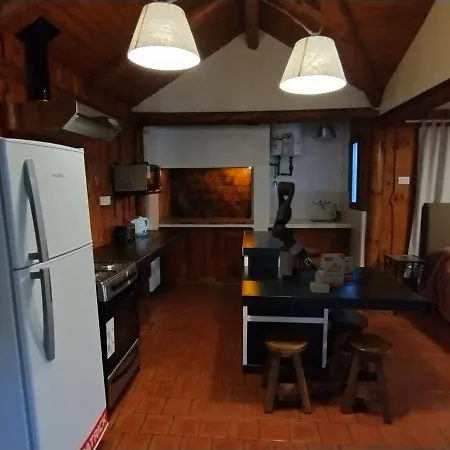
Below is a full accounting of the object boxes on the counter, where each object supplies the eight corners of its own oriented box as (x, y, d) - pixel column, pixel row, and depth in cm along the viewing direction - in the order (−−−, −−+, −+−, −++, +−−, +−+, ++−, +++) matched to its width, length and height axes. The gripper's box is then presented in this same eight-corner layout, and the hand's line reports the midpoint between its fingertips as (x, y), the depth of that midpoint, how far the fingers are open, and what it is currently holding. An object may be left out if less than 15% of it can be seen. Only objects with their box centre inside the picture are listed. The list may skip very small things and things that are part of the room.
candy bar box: (348, 279, 267) (349, 256, 265) (353, 281, 262) (354, 257, 261) (334, 281, 263) (335, 257, 261) (339, 282, 258) (340, 258, 257)
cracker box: (323, 287, 246) (324, 255, 244) (319, 285, 252) (320, 253, 250) (343, 286, 249) (345, 254, 247) (339, 284, 255) (340, 252, 253)
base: (309, 287, 244) (310, 281, 244) (325, 288, 244) (326, 282, 243) (312, 292, 235) (312, 285, 234) (329, 292, 234) (329, 286, 233)
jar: (314, 282, 242) (315, 267, 240) (322, 283, 241) (323, 267, 240) (315, 284, 236) (316, 268, 235) (324, 285, 236) (325, 269, 235)
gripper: (303, 248, 230) (322, 267, 231) (300, 244, 244) (318, 262, 245) (294, 256, 231) (313, 276, 232) (291, 252, 245) (309, 270, 246)
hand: (315, 269), depth 238 cm, fingers open, 8 cm apart
